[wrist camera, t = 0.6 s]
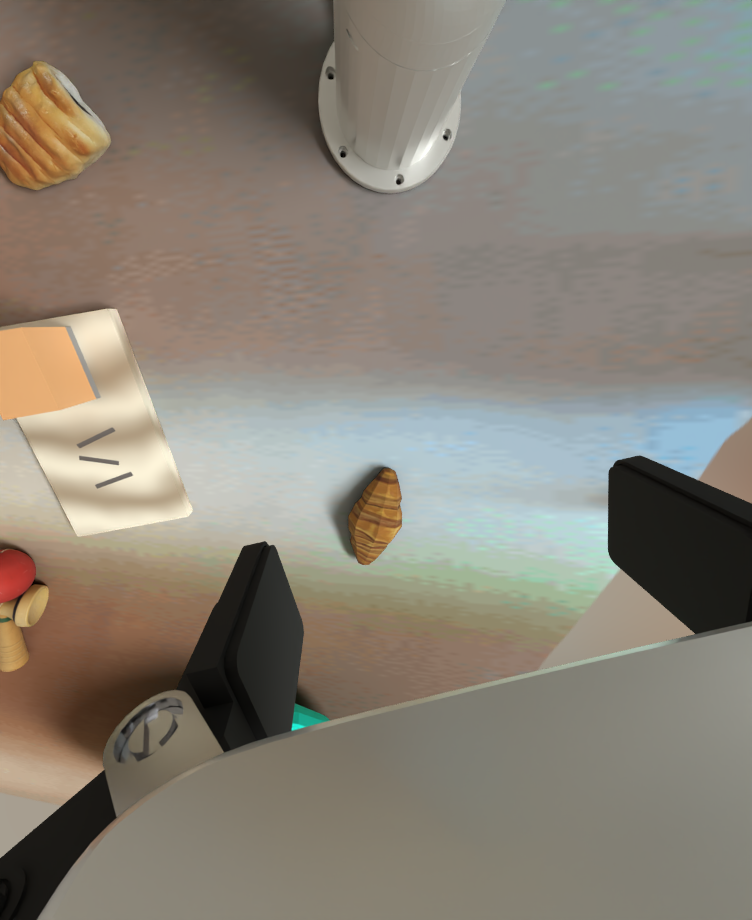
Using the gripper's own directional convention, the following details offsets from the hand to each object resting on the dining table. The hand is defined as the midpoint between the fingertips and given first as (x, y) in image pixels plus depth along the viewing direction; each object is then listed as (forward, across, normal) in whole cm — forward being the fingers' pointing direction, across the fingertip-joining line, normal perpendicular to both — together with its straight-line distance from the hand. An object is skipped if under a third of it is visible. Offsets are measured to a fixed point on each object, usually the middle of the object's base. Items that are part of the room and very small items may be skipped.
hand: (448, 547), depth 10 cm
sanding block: (+32, +30, -8) cm, 45 cm away
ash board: (+34, +30, -1) cm, 45 cm away
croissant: (+34, +3, +17) cm, 38 cm away
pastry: (+34, +22, -26) cm, 48 cm away
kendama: (+34, +49, +18) cm, 62 cm away
